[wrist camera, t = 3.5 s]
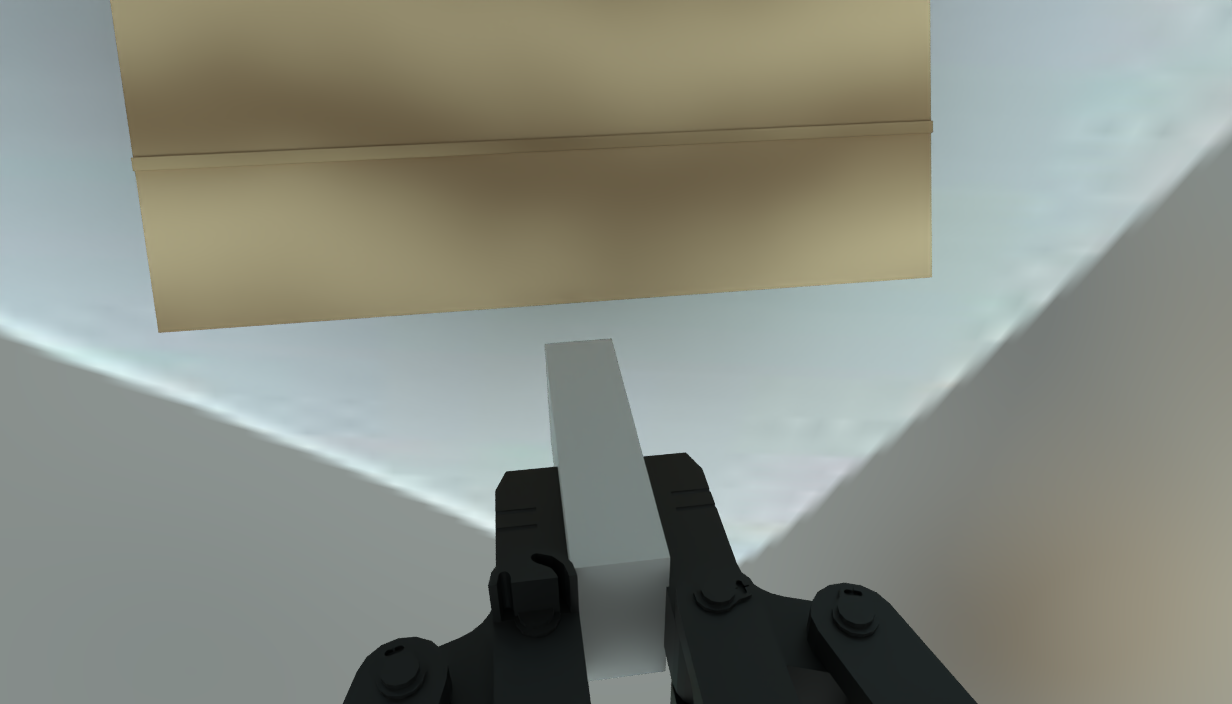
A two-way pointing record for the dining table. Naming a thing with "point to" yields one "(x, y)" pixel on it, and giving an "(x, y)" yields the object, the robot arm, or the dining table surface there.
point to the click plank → (520, 151)
